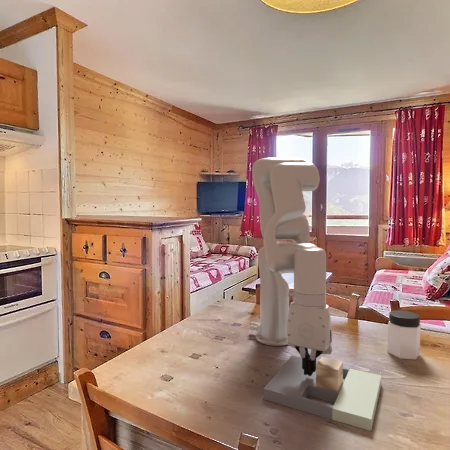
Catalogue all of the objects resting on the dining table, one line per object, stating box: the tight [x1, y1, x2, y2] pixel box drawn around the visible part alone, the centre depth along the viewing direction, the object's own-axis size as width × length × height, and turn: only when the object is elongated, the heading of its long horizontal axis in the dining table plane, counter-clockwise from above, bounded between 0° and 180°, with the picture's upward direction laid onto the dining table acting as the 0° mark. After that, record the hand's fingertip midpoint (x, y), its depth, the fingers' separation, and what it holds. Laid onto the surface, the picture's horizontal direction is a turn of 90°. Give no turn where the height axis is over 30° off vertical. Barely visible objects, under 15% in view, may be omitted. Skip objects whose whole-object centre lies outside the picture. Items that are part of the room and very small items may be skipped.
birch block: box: [316, 356, 344, 392], centre depth 81 cm, size 5×5×5 cm
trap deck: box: [262, 355, 382, 432], centre depth 82 cm, size 23×20×2 cm
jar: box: [387, 309, 422, 361], centre depth 103 cm, size 9×8×12 cm
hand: (309, 373), depth 84 cm, fingers closed
